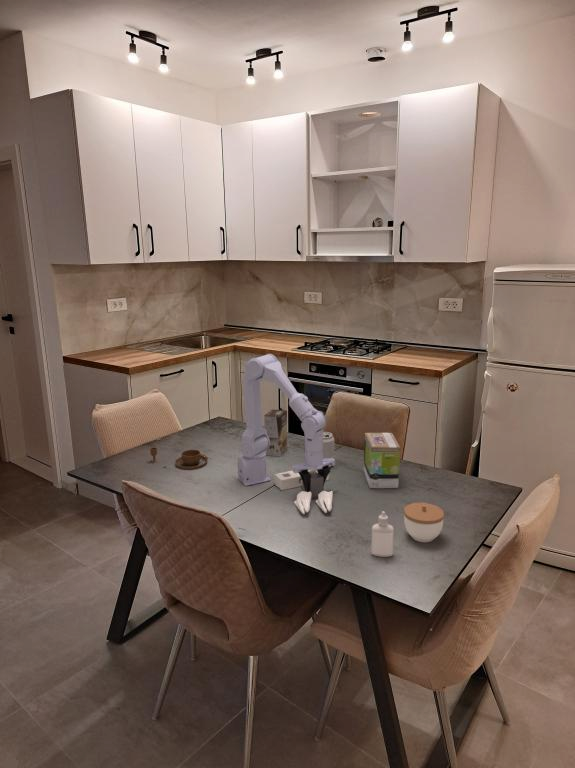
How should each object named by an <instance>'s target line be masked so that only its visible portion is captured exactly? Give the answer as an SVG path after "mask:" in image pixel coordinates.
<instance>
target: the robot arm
mask: <svg viewBox="0 0 575 768" xmlns="http://www.w3.org/2000/svg"><path fill="white" fill-rule="evenodd" d="M263 380H264V381H271V382H273V383H274V384H275V385H276V386H277V387H278V388H279V390H280V391H281V392H282V393H283V394H284V395H285V396H286V398H288V405H289V407H290V408H291V410H292V411H293V412H294V413H295V415H296V416H297V417H298V418H299V420H300V421H301V423H300V426H301V429H302V431H303V432H304V433H303V434H304V461H302V462H301V463H298V464H295V465H292V469H291V470H293V472H294V473H295V474H296V473H299V475H300V477H301V479H302V481H303V484H304V489H305V491H307V492H309V491H310V478H311V474H310V473H309V471H308V470H311V469H317V471H318V473H319V474H320V475H321V476H323V489H324V488H325V487H324V486H325V484H326V481H327V480H326V478H327V476H328V474H329V475H330V473H331V467H333V466H335V465H336V459H335V458H334V459H333V458H328V459H323V432H324V428H325V427H326V425H327V417H326V416H325V413H323V412H322V411H320V410H317V408H315V407H314V406H313V404H312V403H311V402H310V401H309V398H308V396H307V395H305V394H304V393H299V392H298V391H297V390H296V388H295V387H294V385H293V383H292V382H291V381H290V379H289V378H288V376H287V375H286V374H285V372H284V371H283V369H282V363H281V362H280V361H279V360H278V359H277V357H276V356H275V355H274V354H272V353H267V354H265V355H262V356H258V357H254V358H250V359H249V360H248V361H247V362H246V363H245V365H244V373H243V375H242V386H243V387H242V389H243V400H244V413H245V425H246V427H245V430H244V432H243V434H241V442H240V445H239V449H240V452H241V454H242V455H243V456H241V457H238V458H237V479H238V480H240V481H239V482H241V483H242V484H243V485H244V486H246V487H247V486H252V485H256V484H261V483H266V482H269V481H271V480H272V479H271V478H270V477H269V476H268V475H267V455H266V453H267V449H268V448H269V446H270V440H269V438H268V435H267V430H266V429H265V427H264V426H263V415H262V414H263V413H262V399H261V397H262V396H261V382H262V381H263ZM330 465H332V466H331V467H329V466H330Z"/></svg>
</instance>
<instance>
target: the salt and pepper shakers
mask: <svg viewBox="0 0 575 768" xmlns="http://www.w3.org/2000/svg"><path fill="white" fill-rule="evenodd" d="M333 493H334V492H333V490H331V491H326V490H323V491H322V492H320V493H319V494H318V497H317V499H316V500H315V503H316V504H317V506H318V507H319V508H320V509H321V510H322V511H323V512H324V513H325V514H327V513H328V512H331V511H332V507H333V505H332V504H333V497H334V494H333ZM311 494H312V493H311V492H305V491H299V492H298V493H297V495H296V499H295V500H294V502H293V503H294V505H295V506H296V508H297V509H298V510H299V512H301V514H303V515H305V514H306V513H309V511H310V510H311V500H312V498H311Z"/></svg>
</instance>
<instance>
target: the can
mask: <svg viewBox="0 0 575 768" xmlns="http://www.w3.org/2000/svg"><path fill="white" fill-rule="evenodd" d="M328 458H333V459H334V460H335V437H334V436H333V433H332V432H328V431H323V459H328ZM331 467H333V466H332V465H330V466H329V468H331Z"/></svg>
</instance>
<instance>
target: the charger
mask: <svg viewBox="0 0 575 768" xmlns="http://www.w3.org/2000/svg"><path fill="white" fill-rule="evenodd" d="M309 473H310V474H311V478H310V491H309V492H311V493H312V494H311V499H315V497H316V498H318V494H319V493H320V492H322V491H324V488H323V476H321V475H320V474H319V473H317V472H316V471H315V470H314V471H309ZM301 484H302V486H301V487H302V489H301V490H302V491H305V489H304V484H303V481H302V480H301ZM302 491H301V492H302ZM305 492H307V491H305Z"/></svg>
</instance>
